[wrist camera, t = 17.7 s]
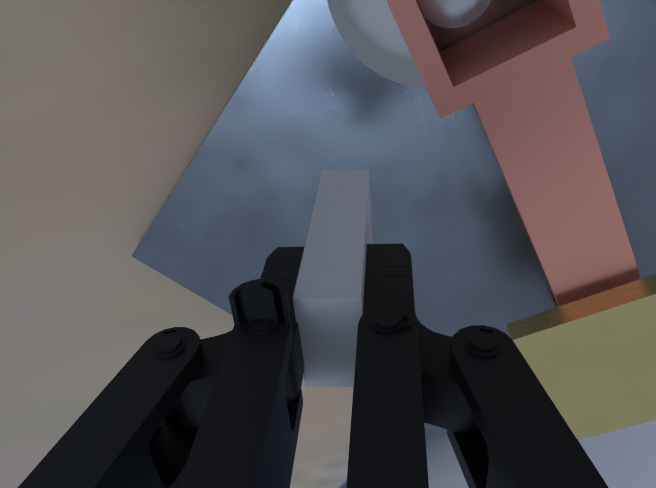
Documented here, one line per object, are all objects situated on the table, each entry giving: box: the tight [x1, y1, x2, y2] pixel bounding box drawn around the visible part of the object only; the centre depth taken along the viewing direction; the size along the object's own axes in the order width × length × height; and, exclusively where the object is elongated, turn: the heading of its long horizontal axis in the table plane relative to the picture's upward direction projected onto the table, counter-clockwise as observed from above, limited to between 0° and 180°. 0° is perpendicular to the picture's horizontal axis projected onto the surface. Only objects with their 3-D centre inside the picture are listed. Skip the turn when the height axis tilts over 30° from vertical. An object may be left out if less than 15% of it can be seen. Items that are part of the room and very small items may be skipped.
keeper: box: [507, 274, 656, 440], centre depth 25 cm, size 7×6×8 cm
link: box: [386, 0, 641, 307], centre depth 21 cm, size 19×6×5 cm, turn 29°
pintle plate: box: [132, 0, 656, 436], centre depth 26 cm, size 28×22×1 cm
